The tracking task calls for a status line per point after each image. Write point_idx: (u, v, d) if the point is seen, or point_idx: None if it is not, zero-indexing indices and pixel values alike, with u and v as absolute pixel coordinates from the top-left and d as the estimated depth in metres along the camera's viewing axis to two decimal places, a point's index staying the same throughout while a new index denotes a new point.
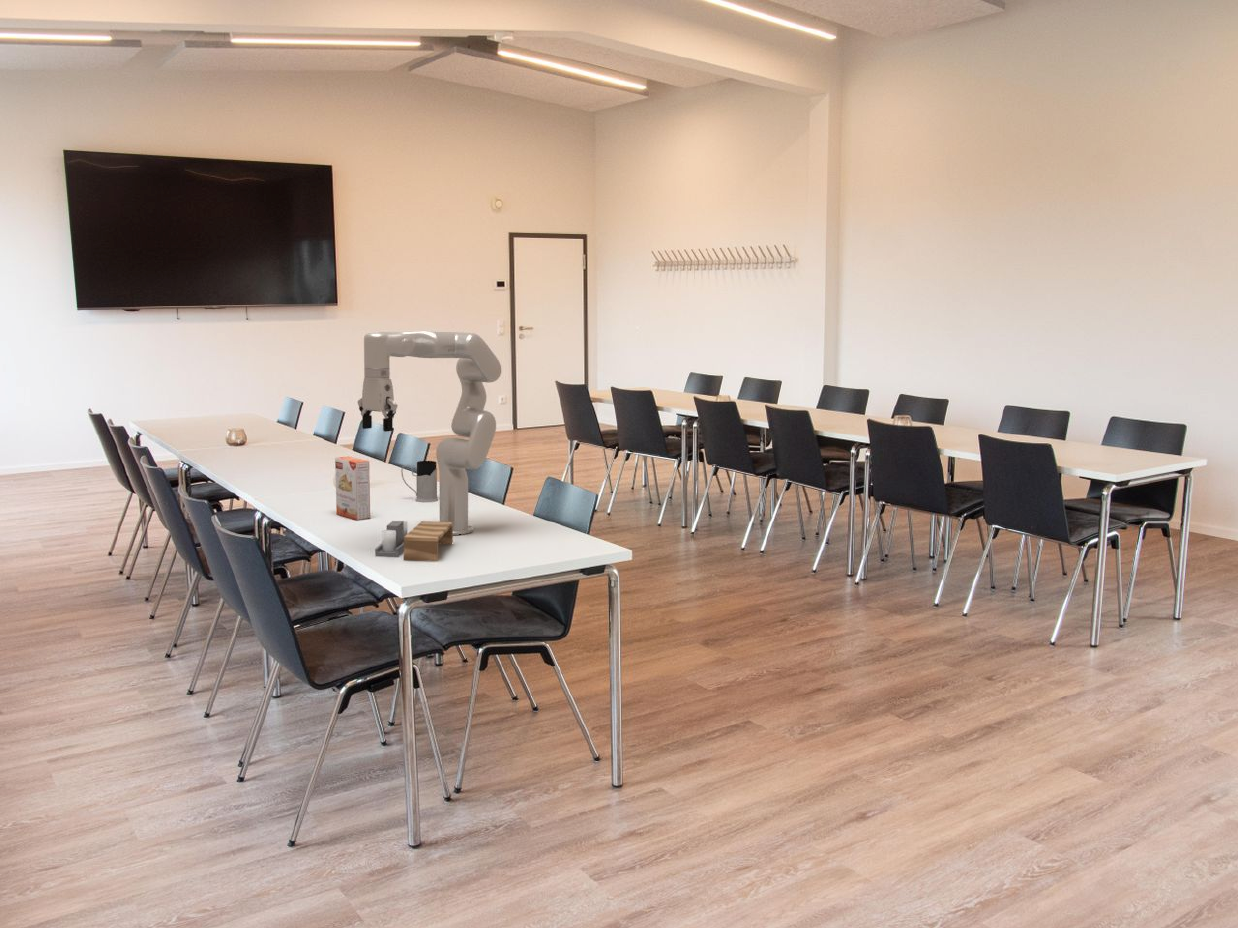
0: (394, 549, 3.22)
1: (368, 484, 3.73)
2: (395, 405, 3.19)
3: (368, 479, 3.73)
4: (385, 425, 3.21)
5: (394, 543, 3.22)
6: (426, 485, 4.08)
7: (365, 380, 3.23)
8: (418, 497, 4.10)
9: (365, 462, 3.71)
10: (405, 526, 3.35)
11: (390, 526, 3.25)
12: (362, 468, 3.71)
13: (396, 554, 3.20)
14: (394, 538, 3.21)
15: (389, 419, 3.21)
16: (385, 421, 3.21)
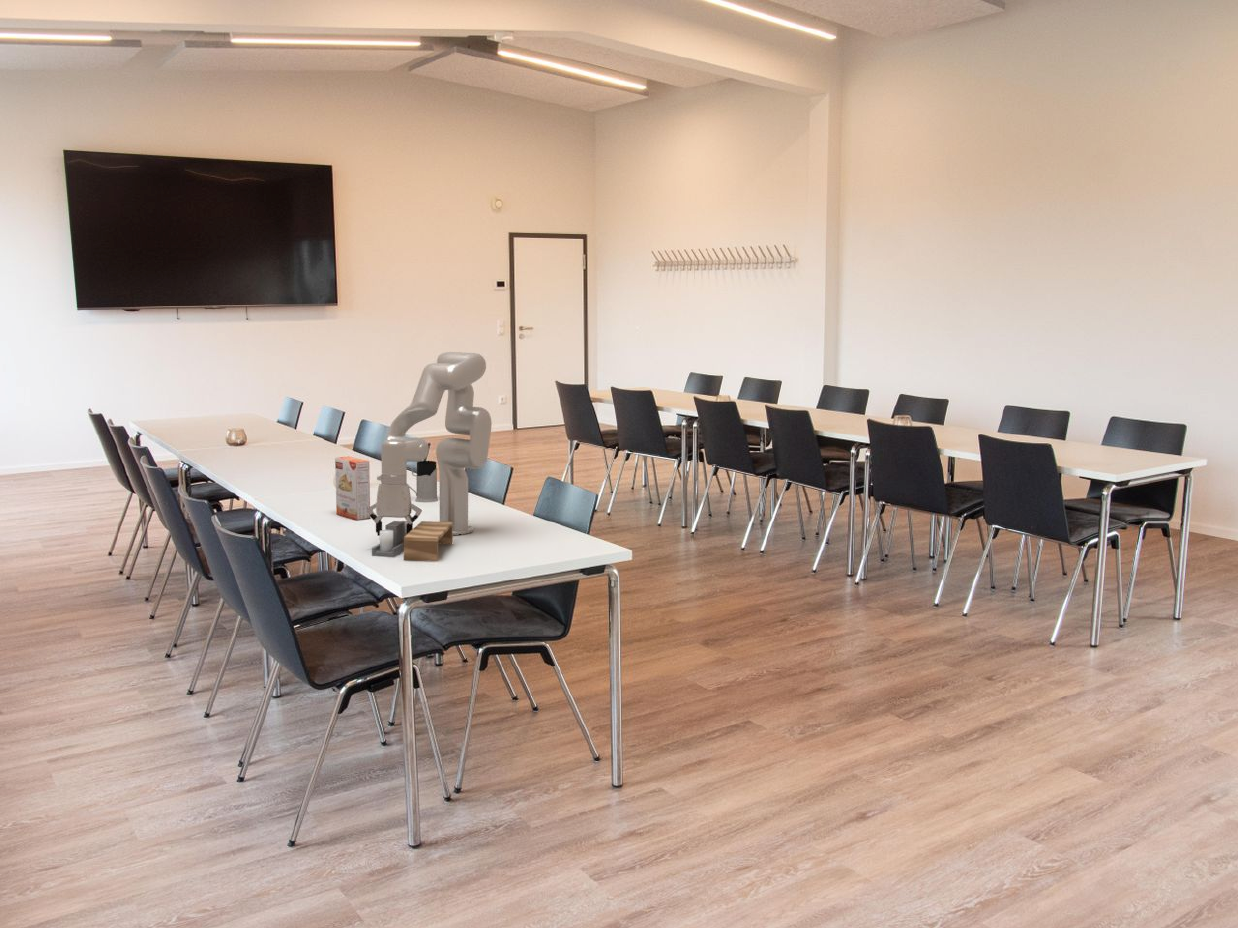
0: (391, 549, 3.22)
1: (368, 484, 3.73)
2: None
3: (368, 479, 3.73)
4: None
5: (391, 543, 3.21)
6: (426, 485, 4.08)
7: None
8: (418, 497, 4.10)
9: (365, 462, 3.71)
10: None
11: (389, 526, 3.25)
12: (362, 468, 3.71)
13: (392, 554, 3.19)
14: (391, 538, 3.21)
15: None
16: None
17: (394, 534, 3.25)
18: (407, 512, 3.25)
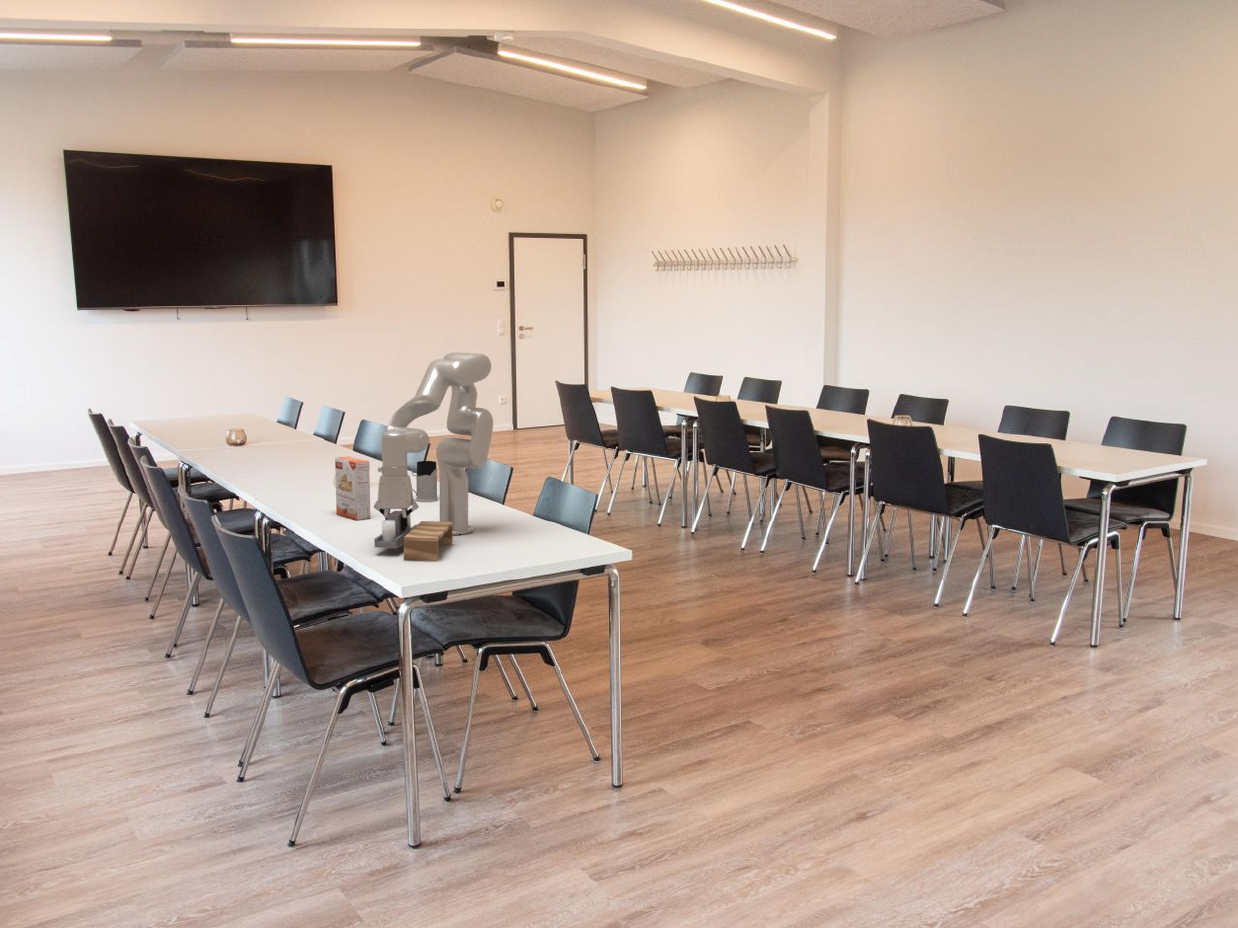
0: (393, 539, 3.22)
1: (368, 484, 3.73)
2: None
3: (368, 479, 3.73)
4: None
5: (393, 533, 3.22)
6: (426, 485, 4.08)
7: None
8: (418, 497, 4.10)
9: (365, 462, 3.71)
10: (408, 516, 3.35)
11: (390, 516, 3.25)
12: (362, 468, 3.71)
13: (395, 544, 3.20)
14: (393, 528, 3.21)
15: None
16: None
17: (396, 524, 3.26)
18: (409, 503, 3.25)
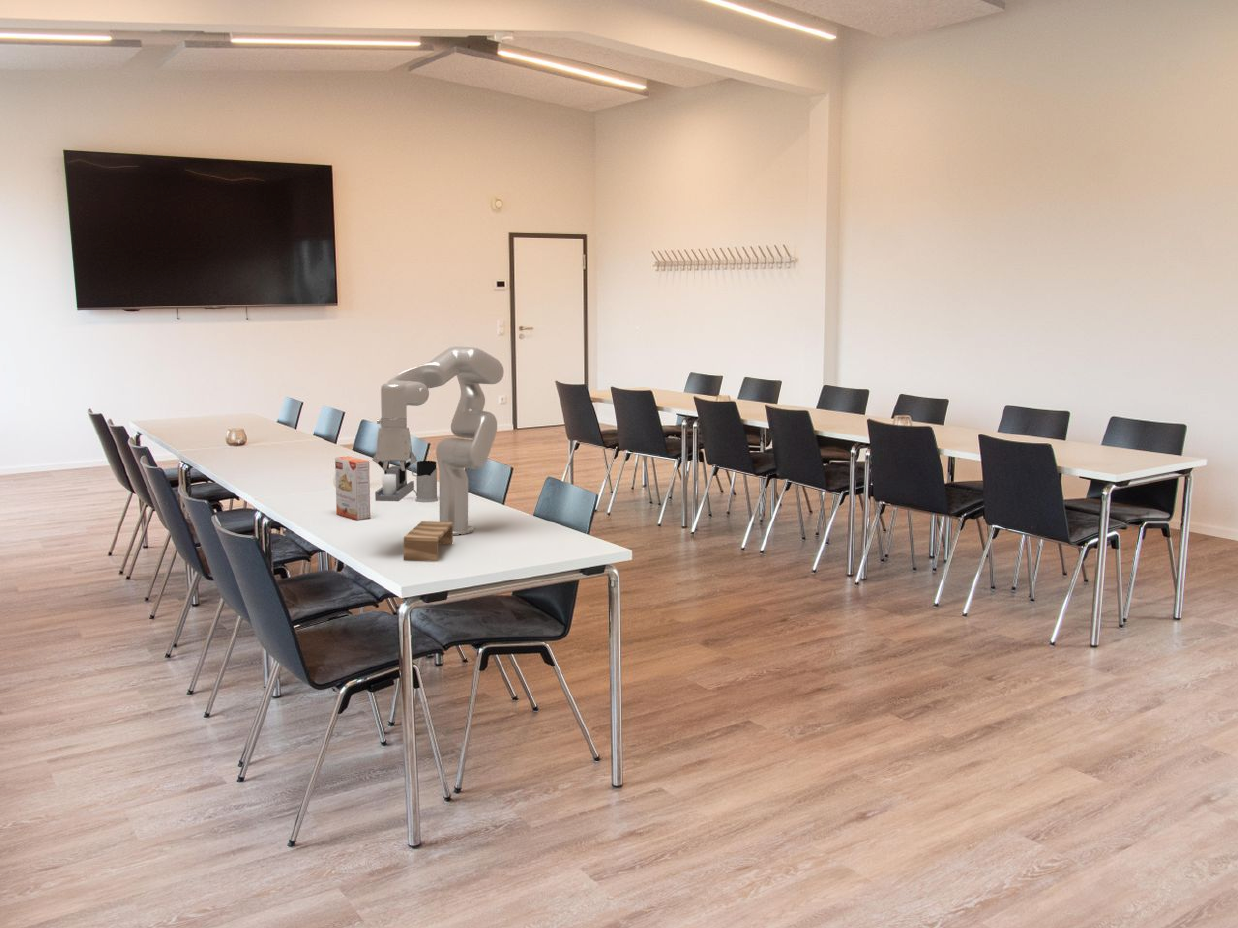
0: (394, 493, 3.19)
1: (368, 484, 3.73)
2: None
3: (368, 479, 3.73)
4: None
5: (394, 487, 3.19)
6: (426, 485, 4.08)
7: None
8: (418, 497, 4.10)
9: (365, 462, 3.71)
10: None
11: (390, 470, 3.23)
12: (362, 468, 3.71)
13: (396, 497, 3.17)
14: (394, 482, 3.19)
15: None
16: None
17: (395, 478, 3.23)
18: (408, 456, 3.23)
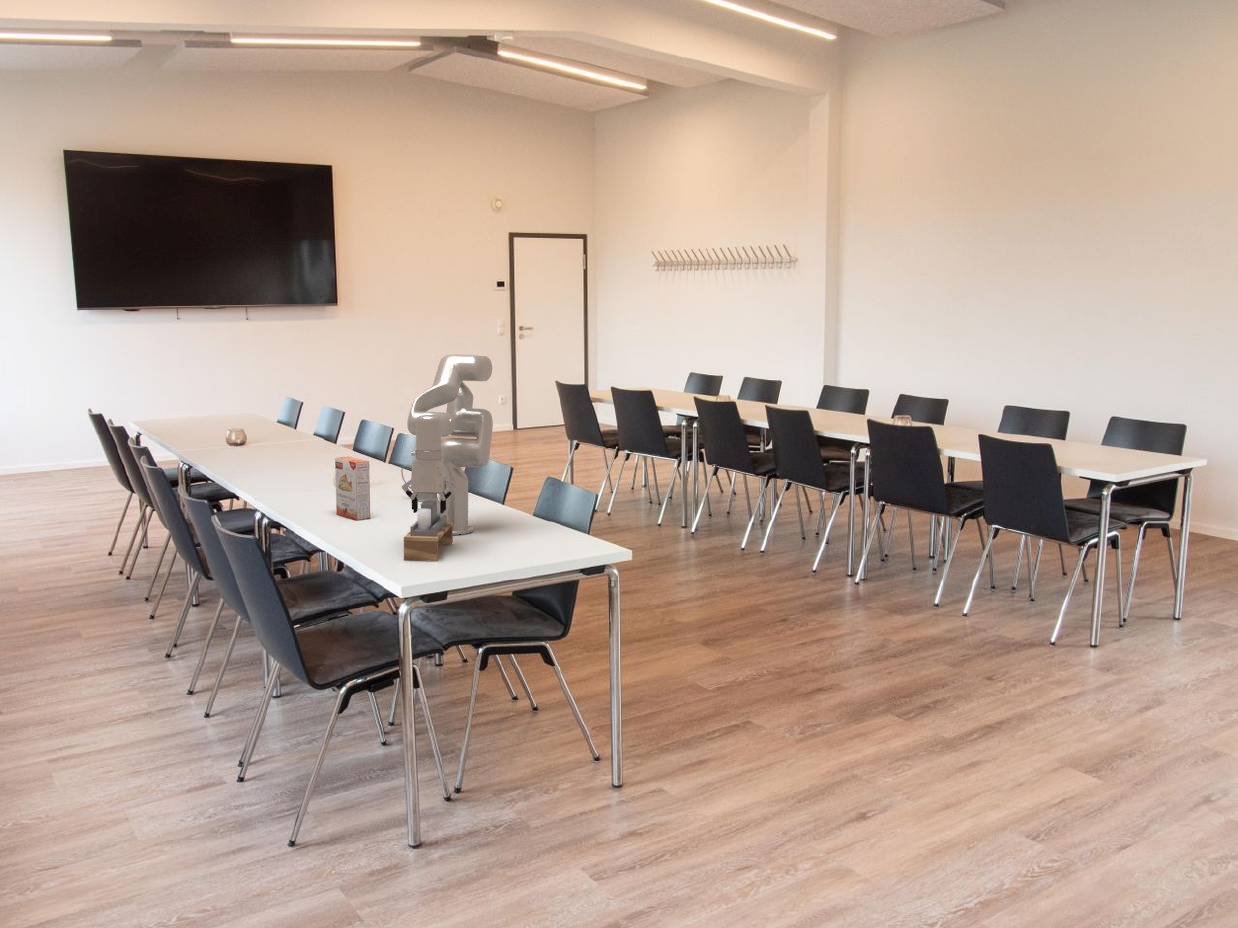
0: (429, 528, 3.19)
1: (368, 484, 3.73)
2: None
3: (368, 479, 3.73)
4: None
5: (429, 522, 3.18)
6: None
7: None
8: (418, 497, 4.10)
9: (365, 462, 3.71)
10: (438, 505, 3.32)
11: (424, 505, 3.22)
12: (362, 468, 3.71)
13: (432, 532, 3.16)
14: (429, 516, 3.18)
15: None
16: None
17: None
18: (442, 488, 3.22)
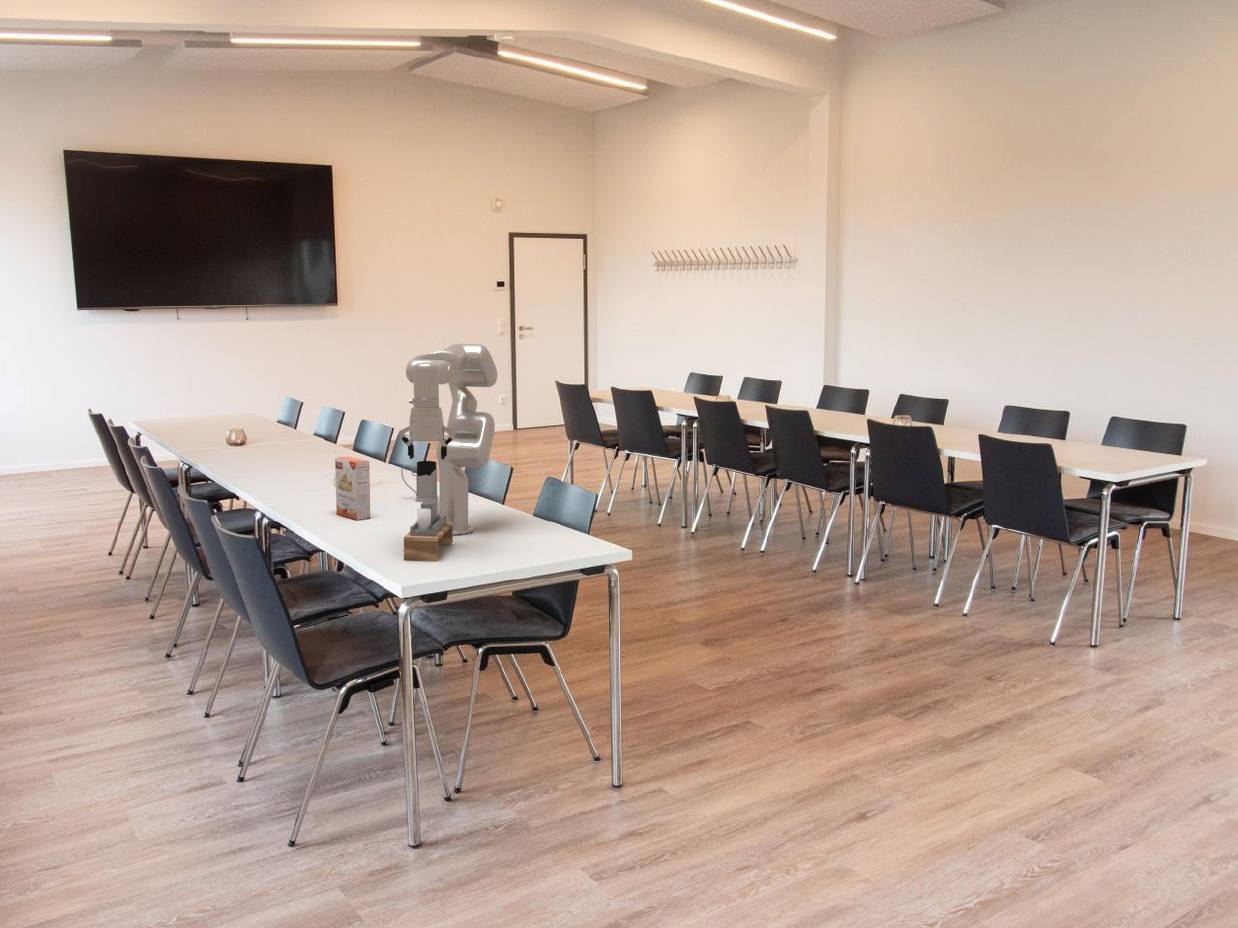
0: (429, 528, 3.19)
1: (368, 484, 3.73)
2: None
3: (368, 479, 3.73)
4: None
5: (429, 522, 3.18)
6: (426, 485, 4.08)
7: None
8: (418, 497, 4.10)
9: (365, 462, 3.71)
10: (438, 505, 3.32)
11: (424, 505, 3.22)
12: (362, 468, 3.71)
13: (432, 532, 3.16)
14: (429, 516, 3.18)
15: None
16: None
17: None
18: (440, 435, 3.22)
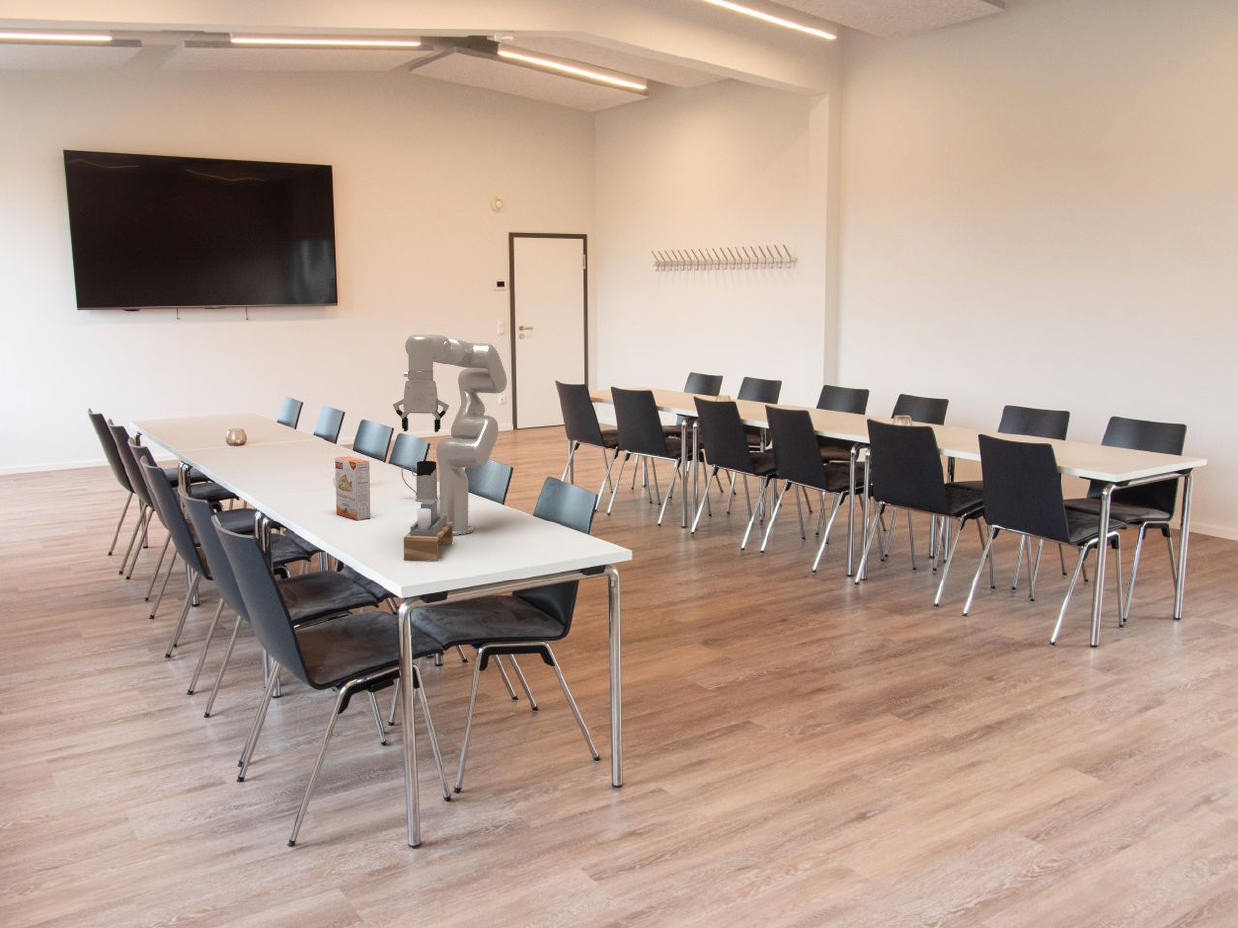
0: (429, 528, 3.19)
1: (368, 484, 3.73)
2: None
3: (368, 479, 3.73)
4: None
5: (429, 522, 3.18)
6: (426, 485, 4.08)
7: None
8: (418, 497, 4.10)
9: (365, 462, 3.71)
10: (438, 505, 3.32)
11: (424, 505, 3.22)
12: (362, 468, 3.71)
13: (432, 532, 3.16)
14: (429, 516, 3.18)
15: None
16: None
17: None
18: (434, 408, 3.27)
